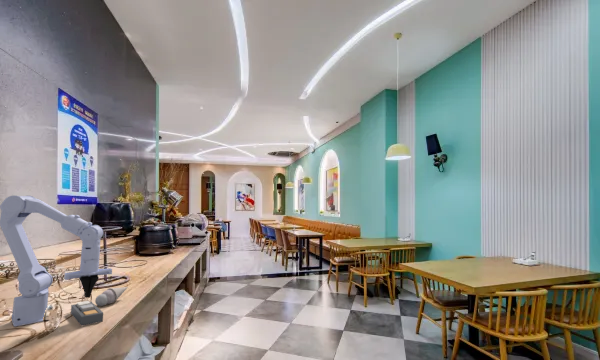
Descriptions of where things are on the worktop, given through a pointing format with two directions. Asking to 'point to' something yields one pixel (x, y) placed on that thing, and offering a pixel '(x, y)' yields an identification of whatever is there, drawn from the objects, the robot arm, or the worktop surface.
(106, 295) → the ice cream cone
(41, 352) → the worktop surface
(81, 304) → the cream key
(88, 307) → the grey key
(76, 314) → the grey compartment tray
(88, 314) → the amber key
